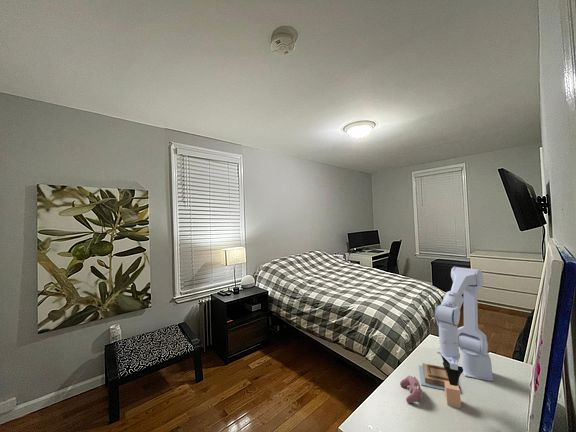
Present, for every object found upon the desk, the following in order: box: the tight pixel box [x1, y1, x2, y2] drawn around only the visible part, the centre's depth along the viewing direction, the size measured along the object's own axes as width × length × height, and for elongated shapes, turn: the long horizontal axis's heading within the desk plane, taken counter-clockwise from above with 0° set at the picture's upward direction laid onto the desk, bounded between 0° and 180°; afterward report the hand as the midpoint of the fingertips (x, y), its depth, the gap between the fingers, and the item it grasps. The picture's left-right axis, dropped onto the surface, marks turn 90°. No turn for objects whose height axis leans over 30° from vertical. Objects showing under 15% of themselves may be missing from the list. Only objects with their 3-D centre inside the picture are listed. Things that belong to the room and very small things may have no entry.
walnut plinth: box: [421, 362, 449, 387], centre depth 97 cm, size 10×10×3 cm
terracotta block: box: [444, 381, 462, 409], centre depth 85 cm, size 4×4×6 cm
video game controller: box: [399, 374, 423, 404], centre depth 89 cm, size 10×5×7 cm, turn 169°
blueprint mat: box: [418, 364, 462, 395], centre depth 97 cm, size 13×13×1 cm
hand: (451, 377), depth 85 cm, fingers open, 7 cm apart
